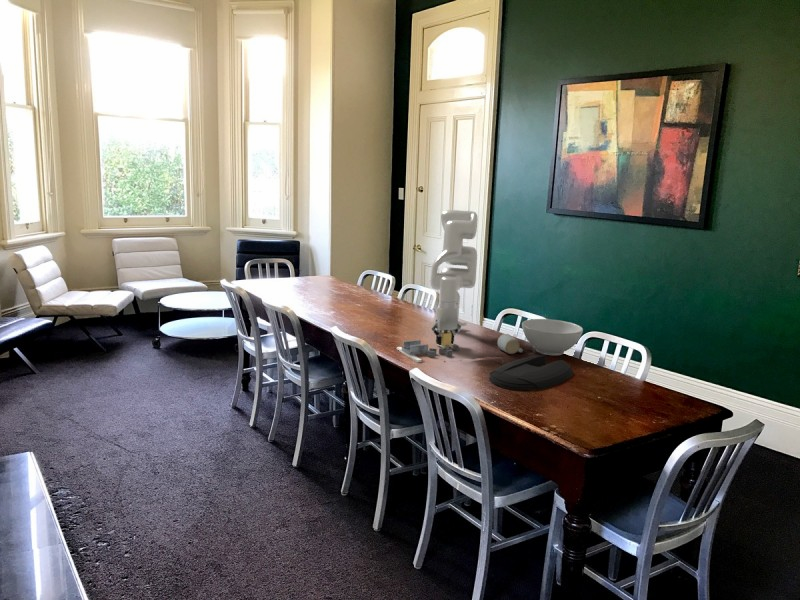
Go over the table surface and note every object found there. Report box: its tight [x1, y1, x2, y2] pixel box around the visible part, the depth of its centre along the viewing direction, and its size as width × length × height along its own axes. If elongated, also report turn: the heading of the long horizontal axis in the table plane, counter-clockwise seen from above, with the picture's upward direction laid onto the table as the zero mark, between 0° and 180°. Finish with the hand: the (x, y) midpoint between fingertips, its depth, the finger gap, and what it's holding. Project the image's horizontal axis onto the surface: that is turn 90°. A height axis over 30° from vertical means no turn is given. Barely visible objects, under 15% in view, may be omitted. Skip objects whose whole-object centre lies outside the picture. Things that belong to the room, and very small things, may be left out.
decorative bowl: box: [521, 318, 584, 356], centre depth 277 cm, size 27×27×12 cm
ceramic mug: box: [497, 333, 524, 355], centre depth 274 cm, size 11×8×8 cm
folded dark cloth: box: [488, 355, 574, 391], centre depth 242 cm, size 25×41×5 cm, turn 138°
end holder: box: [401, 339, 429, 356], centre depth 264 cm, size 8×8×4 cm
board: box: [396, 343, 460, 364], centre depth 267 cm, size 25×20×4 cm
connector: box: [439, 330, 452, 348], centre depth 275 cm, size 4×4×8 cm
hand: (444, 343), depth 276 cm, fingers open, 5 cm apart
